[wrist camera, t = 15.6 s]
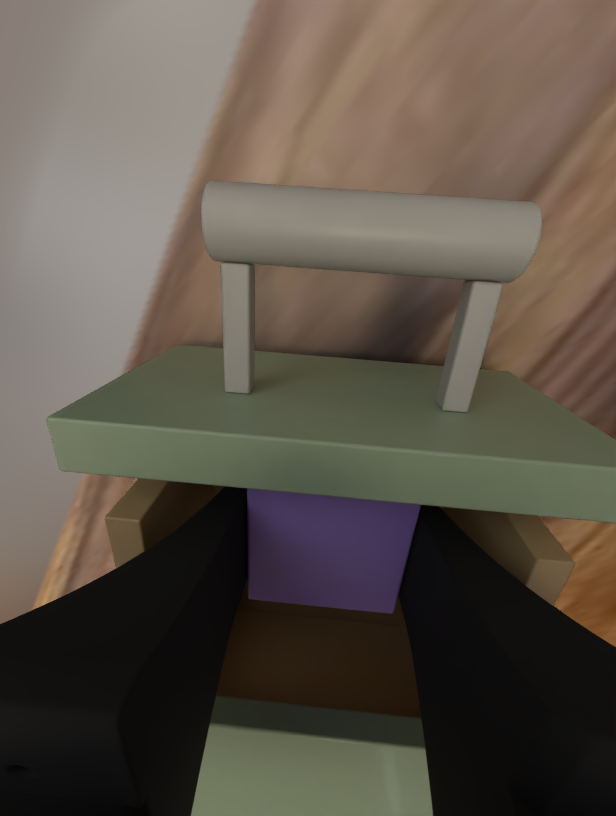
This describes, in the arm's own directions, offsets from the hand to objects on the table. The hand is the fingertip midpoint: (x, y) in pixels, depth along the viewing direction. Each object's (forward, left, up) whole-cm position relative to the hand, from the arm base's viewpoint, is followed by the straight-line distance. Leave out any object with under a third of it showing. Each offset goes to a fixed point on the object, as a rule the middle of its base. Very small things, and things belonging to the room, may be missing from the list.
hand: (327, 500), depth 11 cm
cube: (0, 0, -1) cm, 1 cm away
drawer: (0, 0, -2) cm, 2 cm away
